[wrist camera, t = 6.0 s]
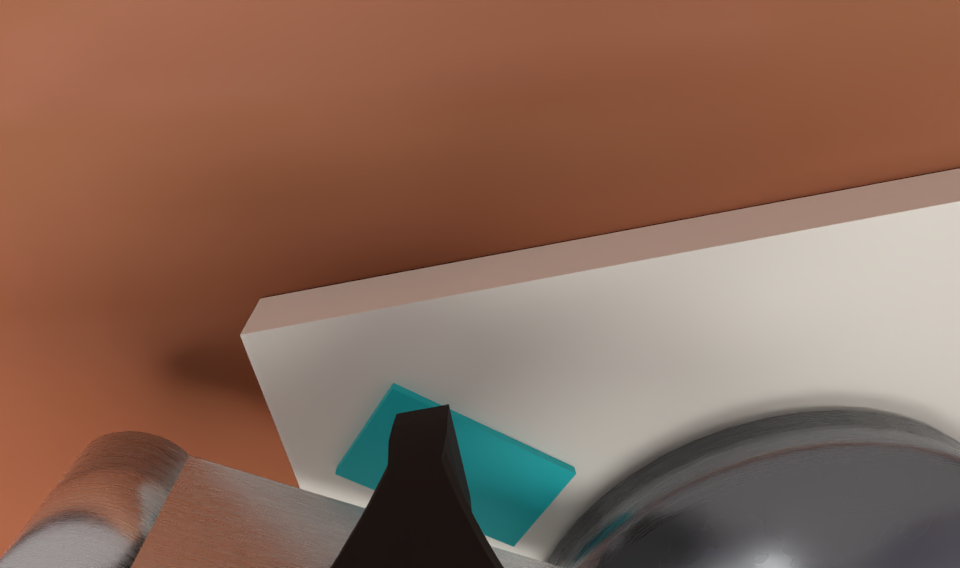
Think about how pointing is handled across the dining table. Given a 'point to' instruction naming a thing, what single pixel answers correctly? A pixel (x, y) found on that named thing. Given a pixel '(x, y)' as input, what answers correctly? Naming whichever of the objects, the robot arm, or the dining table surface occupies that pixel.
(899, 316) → the base board
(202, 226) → the dining table surface
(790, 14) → the dining table surface
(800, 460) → the crank handle
